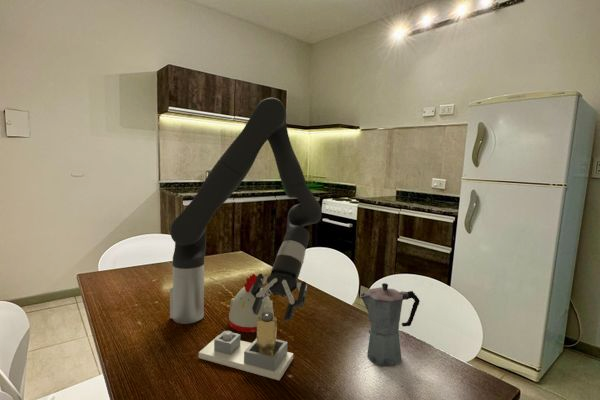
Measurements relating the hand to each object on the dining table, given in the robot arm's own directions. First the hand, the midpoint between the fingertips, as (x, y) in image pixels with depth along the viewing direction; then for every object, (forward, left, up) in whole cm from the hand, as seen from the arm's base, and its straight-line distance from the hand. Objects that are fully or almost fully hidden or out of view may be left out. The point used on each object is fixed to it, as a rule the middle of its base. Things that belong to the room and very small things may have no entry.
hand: (270, 317), depth 82 cm
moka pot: (+28, +13, -11) cm, 33 cm away
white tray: (-5, -2, -11) cm, 13 cm away
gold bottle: (0, -2, -10) cm, 10 cm away
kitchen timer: (-13, +16, -11) cm, 24 cm away
